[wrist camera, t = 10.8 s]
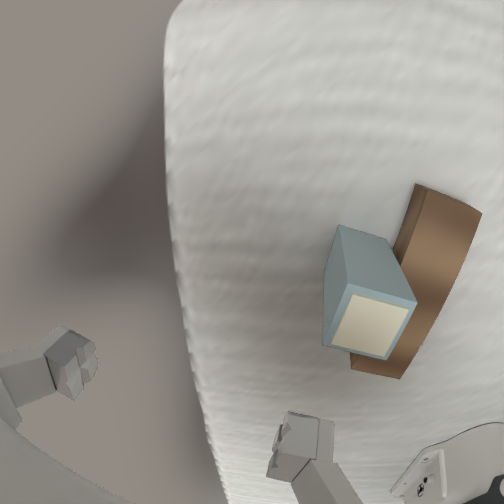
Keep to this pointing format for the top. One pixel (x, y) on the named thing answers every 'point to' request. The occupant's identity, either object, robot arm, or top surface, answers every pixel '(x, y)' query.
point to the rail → (425, 269)
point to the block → (364, 295)
